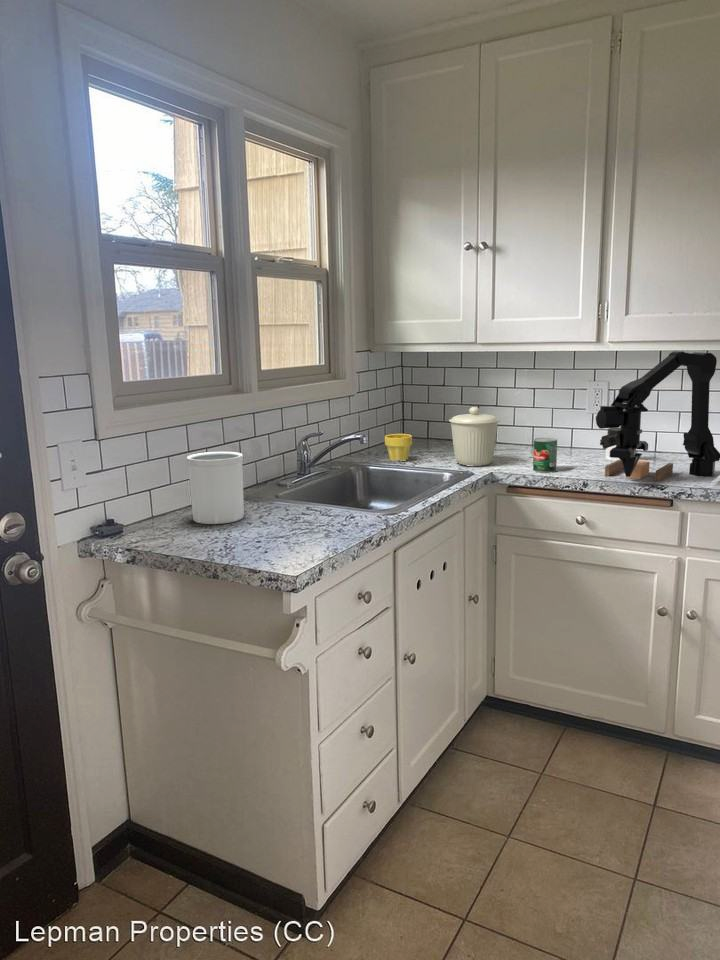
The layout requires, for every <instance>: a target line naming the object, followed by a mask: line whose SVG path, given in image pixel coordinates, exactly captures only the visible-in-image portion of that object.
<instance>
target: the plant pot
mask: <svg viewBox="0 0 720 960" xmlns="http://www.w3.org/2000/svg"><path fill="white" fill-rule="evenodd" d="M384 445H385V446H386V447H387V448H386V449H387V452H388V457H389V460H390V459H391V460H407V459H409V455H410V454H409V453H410V449H411V446H412V445H413V435H411V434H408V433H393V434H392V433H391V434H387V435H385V436H384ZM407 461H408V460H407Z"/></svg>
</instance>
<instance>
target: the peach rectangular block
mask: <svg viewBox="0 0 720 960" xmlns="http://www.w3.org/2000/svg"><path fill="white" fill-rule="evenodd" d="M650 463H651V462H650V461H645V460H639V461H638V462H637V464H636V466H635V468H634V470H633V472H632V474H631V476H630V477H626V476H625V478H628V479H638V480H642V479H643V478H644V477H646V476H648V475H649V474H650V468H649V467H650Z"/></svg>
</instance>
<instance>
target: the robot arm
mask: <svg viewBox="0 0 720 960" xmlns="http://www.w3.org/2000/svg"><path fill="white" fill-rule="evenodd" d="M717 363H718V362H717V356H716V355H715V354H714V353H711V352H700V351H699V352H696V351H695V352H693V353H692V352H685V351H681V350H680V351H679V350H678V351H677V350H674V351H671V352H670V353H669V354H668V355H667V356H666V357H665V358H664V359H662V361H660V362H658V363H657V364H656V365H655V366H654V367H653V368H651V369H650V370H649V371H648V372H646V373H645V374H644V375H643V376H641V377H639V378H637V379H635V380H632V381H629V382H627V383H625V385H623V386H621V388H620V389H619V390H618V394H617V395H616V397H615V399H614V400H613V401H612V403H611V404H610V405H607V406H606V405H600V409H599V410H598V411H597V414H596V416H595V424H596V425H597V427H598V429H601V430H602V429H609V428H620V430H618V431H617V435H614V436H609V435H607V434H606V435H602V436H601V439H600V443H599V445H600V446H602V449H603V450H606V449H607V448H608V447H611V446H615V445H616V447H615V448H613V449H611V450H610V457H613V458H619V459H621V460H622V463H623V467H624V469H623V470H624V474H625V478H626V477H630V476H631V474H632V472H633V470H634V468H635V466H636V464H637V462H638V461H640V460H641V457H642V455H643V453H640V452H639V453H638V450H642V451H644V452H647V451H648V450H649V443H648V442H647V441H646V440H641V434H642V433H643V429H641V424H642V422H641V421H642V413H643V412H644V413H645V412H648V411H649V409H648V408H647V407H645V405H644V402H645V401H646V400H647V399H648V398H649V396H650V395H651V392H652V390H654V388H656V386H657V385H658V384H660V383H662V382H663V381H664V380H665V379H666V378H668V376H670V375H671V374H672V373H673V372H675V371H676V370H677V369H678V368H680V367H682V366H683V367H686V369H687V375H688V376H689V379H690V380H691V412H690V413H691V416H690V417H691V418H690V419H691V420H690V421H691V423H690V428H689V430H688V432H684V433H683V443H682V445H683V446H684V449H685V451H686V452H687V455H688V458H689V459H691V462H690V463H689V470H688V471H689V475H690V476H695V477H702V478H706V477H710V478H712V477H714V476H715V472H716V470H715V469H716V462H719V461H720V451H719V450H718V449H717V447H715V443H714V442H715V441H714V436H713V433H712V432H711V430H710V428H709V427H710V426H709V413H710V384H711V380H712V379H713V376H714V375H715V373H716V370H717V369H716V367H717Z"/></svg>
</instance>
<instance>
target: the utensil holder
mask: <svg viewBox="0 0 720 960" xmlns="http://www.w3.org/2000/svg"><path fill="white" fill-rule="evenodd" d="M243 460H244V456H243V453H241V452H236V451H207V452H200V453H194V454H190V455H187V457H186V462H187V465H188V467H187V468H188V475H189V477H188V478H189V479H188V480H189V488H190V501H191V512H192V519H193V521H194V522H195V523H197V524H204V525H221V524H229V523H234V522H237V521H240V520H242V519H243V518H244V514H245V513H244V478H243V477H244V474H243Z"/></svg>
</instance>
